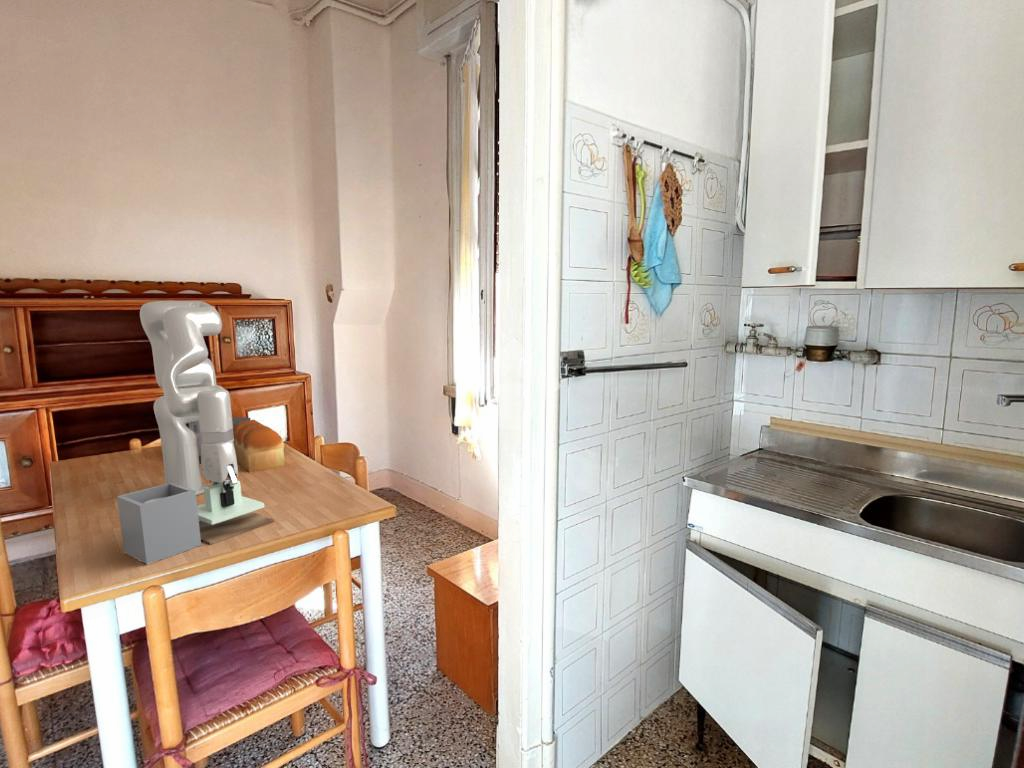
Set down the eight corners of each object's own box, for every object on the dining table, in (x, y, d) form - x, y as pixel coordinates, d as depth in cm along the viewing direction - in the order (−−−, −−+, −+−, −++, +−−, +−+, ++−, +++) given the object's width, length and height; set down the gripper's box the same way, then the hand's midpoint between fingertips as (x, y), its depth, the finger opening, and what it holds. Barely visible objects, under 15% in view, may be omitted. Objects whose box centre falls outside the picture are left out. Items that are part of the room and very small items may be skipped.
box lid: (184, 517, 144) (181, 487, 143) (236, 501, 156) (233, 473, 154) (212, 528, 136) (209, 496, 135) (264, 510, 148) (262, 481, 147)
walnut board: (176, 530, 144) (176, 527, 144) (239, 509, 158) (239, 507, 158) (210, 544, 135) (210, 542, 135) (274, 521, 149) (274, 519, 149)
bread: (231, 459, 212) (228, 422, 210) (265, 453, 220) (262, 417, 218) (249, 473, 193) (245, 432, 191) (286, 466, 201) (282, 427, 199)
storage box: (124, 552, 131) (116, 496, 129) (177, 535, 141) (171, 482, 139) (147, 565, 125) (139, 505, 123) (201, 545, 134) (195, 490, 132)
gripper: (186, 436, 144) (193, 503, 147) (219, 443, 135) (226, 515, 138) (215, 430, 151) (221, 495, 153) (248, 437, 141) (255, 506, 144)
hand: (224, 504), depth 146 cm, fingers closed on box lid, 3 cm apart
